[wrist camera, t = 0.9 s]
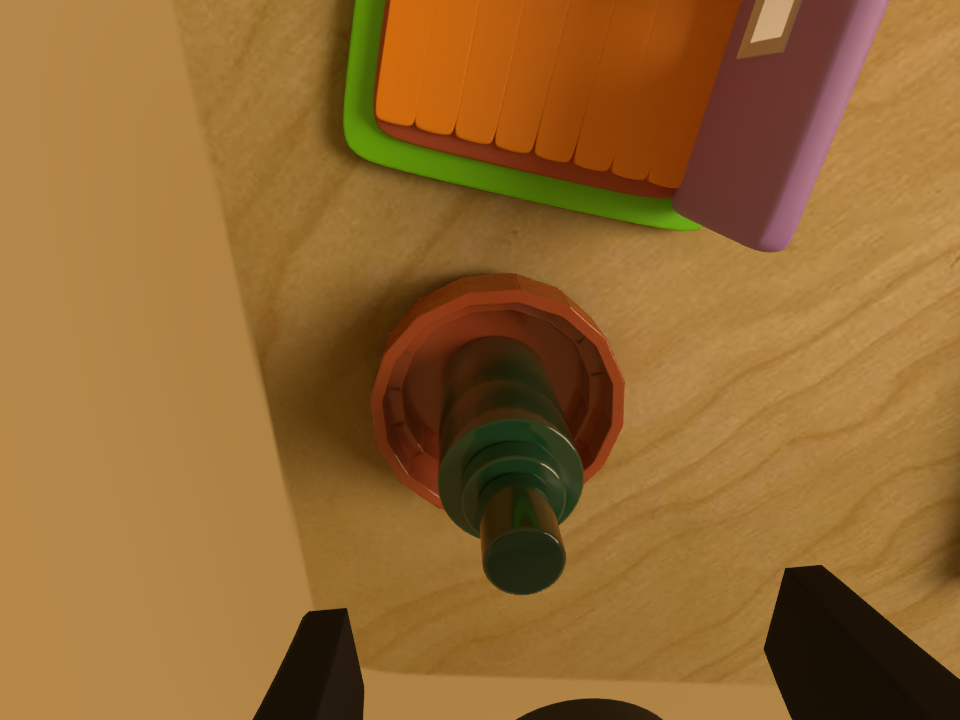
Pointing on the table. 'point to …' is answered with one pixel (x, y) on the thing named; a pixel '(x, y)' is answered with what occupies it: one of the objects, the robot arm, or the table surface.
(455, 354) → the bottle
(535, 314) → the dish
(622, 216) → the miniature room corner
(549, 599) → the table surface
